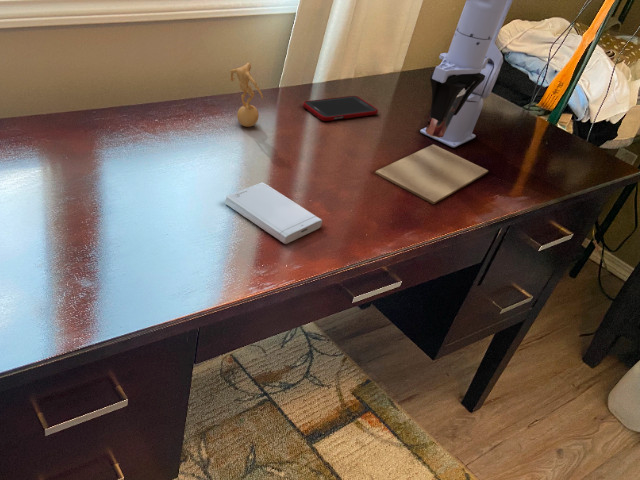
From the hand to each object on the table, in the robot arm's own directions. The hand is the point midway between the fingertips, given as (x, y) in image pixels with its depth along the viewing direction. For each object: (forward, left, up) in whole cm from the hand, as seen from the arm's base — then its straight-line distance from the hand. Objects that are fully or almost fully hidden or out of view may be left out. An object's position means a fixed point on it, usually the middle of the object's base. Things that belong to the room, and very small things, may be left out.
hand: (443, 115), depth 104 cm
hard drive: (+36, -5, -10) cm, 37 cm away
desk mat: (0, +2, -10) cm, 10 cm away
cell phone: (-6, -24, -10) cm, 27 cm away
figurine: (+18, -29, -10) cm, 36 cm away
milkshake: (0, 0, -4) cm, 4 cm away
